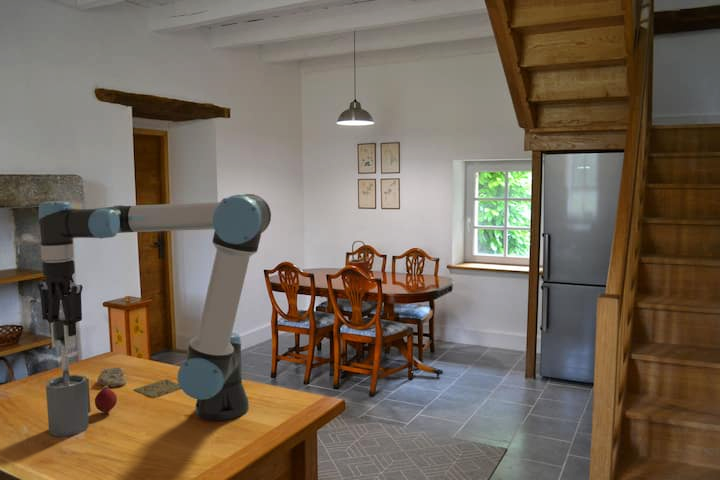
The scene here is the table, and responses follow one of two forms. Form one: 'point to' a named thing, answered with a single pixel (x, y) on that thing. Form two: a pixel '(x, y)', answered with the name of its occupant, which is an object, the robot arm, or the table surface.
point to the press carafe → (68, 406)
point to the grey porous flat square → (158, 388)
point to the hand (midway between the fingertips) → (64, 346)
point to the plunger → (63, 352)
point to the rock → (112, 377)
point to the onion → (105, 400)
